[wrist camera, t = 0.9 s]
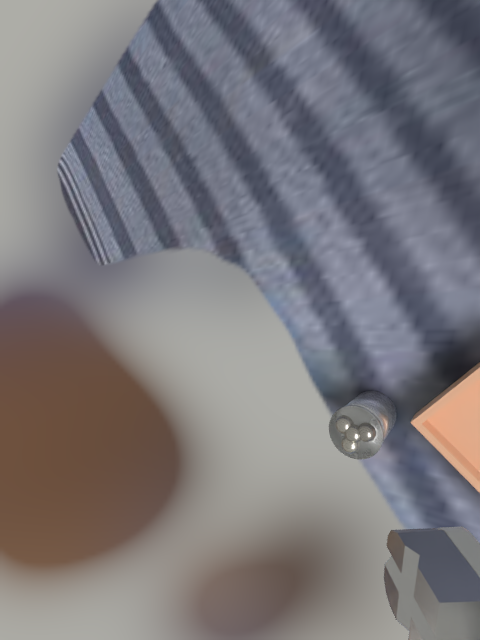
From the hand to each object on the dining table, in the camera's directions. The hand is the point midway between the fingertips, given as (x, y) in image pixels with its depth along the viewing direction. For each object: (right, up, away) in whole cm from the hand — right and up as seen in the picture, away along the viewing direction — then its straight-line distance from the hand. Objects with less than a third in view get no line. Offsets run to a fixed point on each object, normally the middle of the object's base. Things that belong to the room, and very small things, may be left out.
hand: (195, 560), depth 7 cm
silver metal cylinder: (+19, -7, +40) cm, 45 cm away
